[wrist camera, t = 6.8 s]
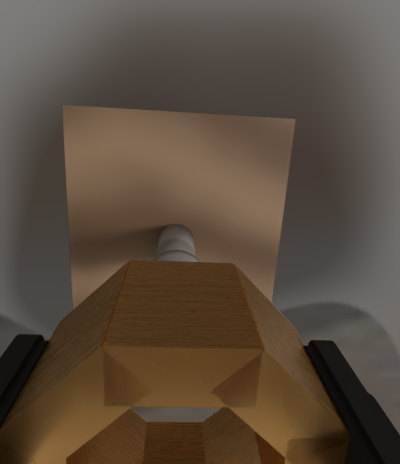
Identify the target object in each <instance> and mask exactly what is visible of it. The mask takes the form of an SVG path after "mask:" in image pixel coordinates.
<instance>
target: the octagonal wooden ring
mask: <svg viewBox="0 0 400 464" xmlns="http://www.w3.org/2000/svg"><path fill="white" fill-rule="evenodd" d="M132 406H153V407H222V408H221V409H220V410H218V411H217V412H216V413H214V414H213V415H212V416H210V417H209V418H208V419H206V420H205V421H204V422H146V421H145V420H144V419H143V418H141V417H140V416H139V415H138V414H136V413H135V412H134V411H133V410H131V409H130V408H131V407H132ZM350 436H351V435H350V433H349V431H348V429H347V427H346V425H345V424H344V422H343V420H342V418H341V416H340V414H339V412H338V410H337V408H336V406H335V404H334V403H333V401H332V399H331V397H330V395H329V393H328V391H327V389H326V387H325V385H324V383H323V382H322V380H321V378H320V376H319V374H318V372H317V370H316V368H315V366H314V364H313V362H312V361H311V359H310V357H309V355H308V353H307V351H306V349H305V347H304V344H303V342H302V340H301V339H300V337H299V335H298V333H297V331H296V329H295V327H294V326H293V325H292V324H291V323H290V322H289V321H288V320H287V319H286V318H285V317H284V316H283V315H282V314H281V312H280V311H279V310H278V309H277V308H276V307H275V306H274V305H273V304H272V303H271V302H270V301H269V300H268V299H267V298H266V297H265V296H264V294H263V293H262V292H261V291H260V290H259V289H258V288H257V287H256V286H255V285H254V284H253V283H252V282H251V281H250V280H249V279H248V278H247V276H246V275H245V274H244V273H243V272H242V271H241V270H240V269H239V268H238V267H237V266H236V265H235V264H234V265H233V263H214V262H185V261H156V260H131V261H130V260H129V261H128V262H127V263H126V264H125V265H123V266H122V267H121V268H120V269H119V270H118V271H117V272H115V273H114V274H113V275H112V276H111V277H110V278H109V279H108V280H106V281H105V282H104V283H103V284H102V285H101V286H100V287H98V288H97V289H96V290H95V291H94V292H93V293H92V294H91V295H89V296H88V297H87V298H86V299H85V300H84V301H83V302H82V303H80V304H79V305H78V306H77V307H76V308H75V309H74V310H72V311H71V312H70V313H69V314H68V315H67V316H66V317H65V318H63V319H62V320H61V321H60V322H59V324H58V325H57V327H56V329H55V331H54V332H53V334H52V336H51V338H50V339H49V342H48V344H47V346H46V348H45V349H44V351H43V353H42V355H41V356H40V358H39V360H38V362H37V363H36V365H35V367H34V369H33V370H32V372H31V374H30V376H29V378H28V379H27V381H26V383H25V385H24V386H23V388H22V390H21V392H20V393H19V395H18V397H17V399H16V400H15V402H14V404H13V406H12V408H11V409H10V411H9V413H8V415H7V416H6V418H5V420H4V422H3V423H2V425H1V427H0V462H1V464H344V461H345V457H346V453H347V448H348V444H349V440H350Z"/></svg>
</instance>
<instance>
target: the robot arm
mask: <svg viewBox="0 0 400 464" xmlns="http://www.w3.org/2000/svg"><path fill="white" fill-rule="evenodd" d="M48 342H49V341H44V338H43V336H42V335H31V334H19V335H17V336H16V337H15V338H14V340H13V341H12V342H11V344H10V345H9V346H8V348H7V349H6V351H5V352H4V353H3V355H2V356H1V358H0V427H1V425H2V423H3V422H4V420H5V418H6V416H7V415H8V413H9V411H10V409H11V408H12V406H13V404H14V402H15V400H16V399H17V397H18V395H19V393H20V392H21V390H22V388H23V386H24V385H25V383H26V381H27V379H28V378H29V376H30V374H31V372H32V370H33V369H34V367H35V365H36V363H37V362H38V360H39V358H40V356H41V355H42V353H43V351H44V349H45V348H46V346H47V344H48ZM304 347H305V349H306V351H307V353H308V355H309V357H310V359H311V361H312V362H313V364H314V366H315V368H316V370H317V372H318V374H319V376H320V378H321V380H322V382H323V383H324V385H325V387H326V389H327V391H328V393H329V395H330V397H331V399H332V401H333V403H334V404H335V406H336V408H337V410H338V412H339V414H340V416H341V418H342V420H343V422H344V424H345V425H346V427H347V429H348V431H349V433H350V435H351V436H350V440H349V444H348V448H347V453H346V457H345V461H344V464H400V435H399V433H398V432H397V430H396V429H395V427H394V426H393V424H392V423H391V422H390V420H389V419H388V417H387V416H386V414H385V413H384V411H383V410H382V408H381V407H380V405H379V404H378V402H377V401H376V399H375V398H374V397H373V396H372V395H371V394H369V393H367V391H366V389H365V388H364V386H363V385H362V383H361V382H360V380H359V379H358V377H357V376H356V374H355V373H354V371H353V370H352V368H351V367H350V365H349V364H348V362H347V361H346V359H345V358H344V356H343V355H342V353H341V352H340V350H339V349H338V347H337V346H336V344H335V343H334V342H333V341H326V340H311V341H310V342H309V344H308V346H304ZM0 464H1V462H0Z"/></svg>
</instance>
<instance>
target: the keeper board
mask: <svg viewBox="0 0 400 464" xmlns="http://www.w3.org/2000/svg"><path fill="white" fill-rule="evenodd" d="M62 113H63V129H64V130H63V131H64V149H65V167H66V168H65V169H66V189H67V208H68V225H69V245H70V264H71V282H72V283H71V284H72V302H73V310H74V309H75V308H76V307H77V306H78V305H79V304H80V303H82V302H83V301H84V300H85V299H86V298H87V297H88V296H89V295H91V294H92V293H93V292H94V291H95V290H96V289H97V288H98V287H100V286H101V285H102V284H103V283H104V282H105V281H106V280H108V279H109V278H110V277H111V276H112V275H113V274H114V273H115V272H117V271H118V270H119V269H120V268H121V267H122V266H123V265H125V264H126V263H127V262H128V261H129V260H130V261H131V260H156V261H185V262H214V263H233V265H234V264H235V265H236V266H237V267H238V268H239V269H240V270H241V271H242V272H243V273H244V274H245V275H246V276H247V278H248V279H249V280H250V281H251V282H252V283H253V284H254V285H255V286H256V287H257V288H258V289H259V290H260V291H261V292H262V293H263V294H264V296H265V297H266V298H267V299H268V300H269V301H270V302H271V303H272V295H273V287H274V280H275V272H276V264H277V256H278V250H279V242H280V233H281V227H282V219H283V212H284V204H285V196H286V188H287V180H288V173H289V166H290V158H291V151H292V143H293V135H294V128H295V119H283V118H267V117H250V116H233V115H218V114H201V113H185V112H169V111H153V110H136V109H120V108H103V107H88V106H71V105H62Z"/></svg>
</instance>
